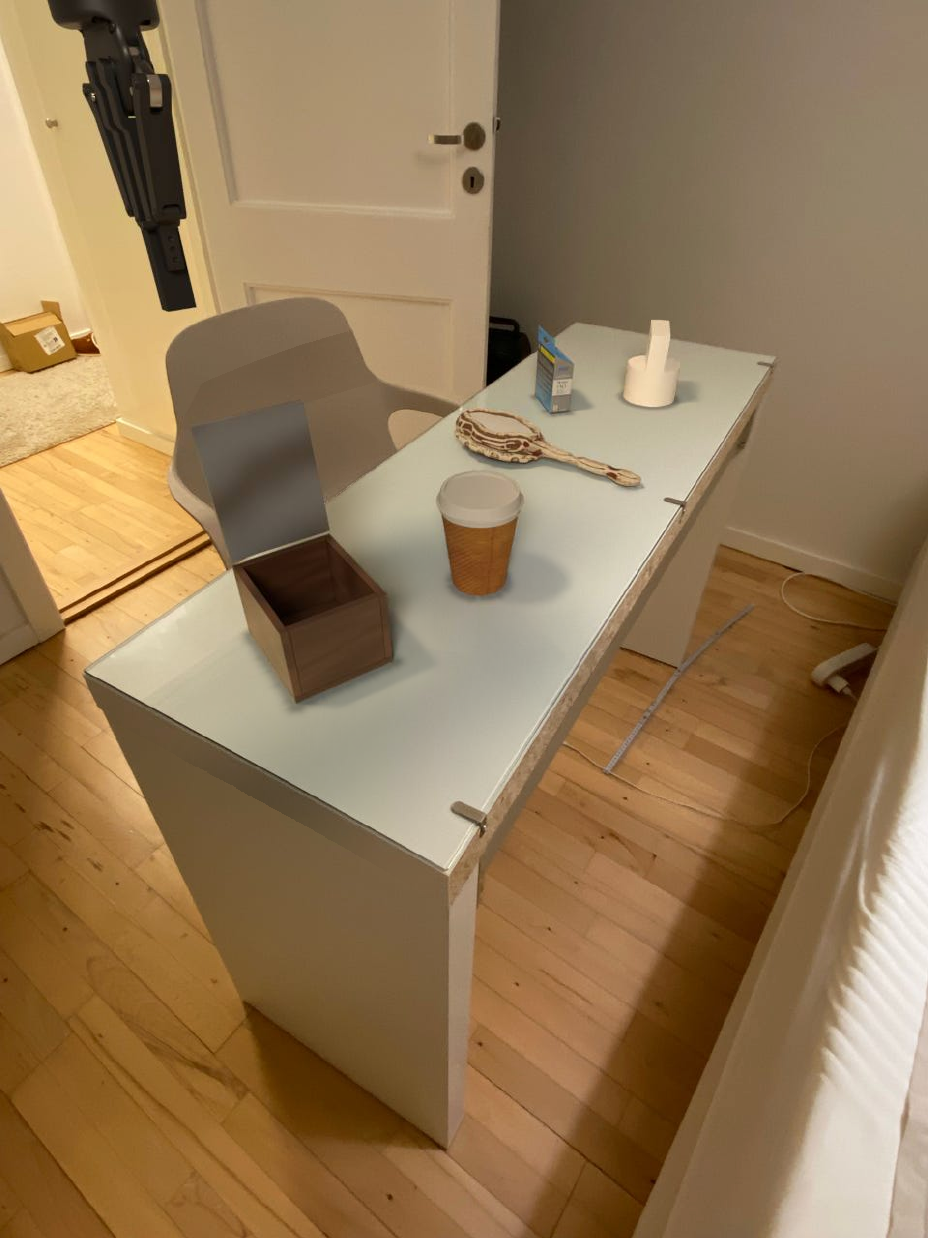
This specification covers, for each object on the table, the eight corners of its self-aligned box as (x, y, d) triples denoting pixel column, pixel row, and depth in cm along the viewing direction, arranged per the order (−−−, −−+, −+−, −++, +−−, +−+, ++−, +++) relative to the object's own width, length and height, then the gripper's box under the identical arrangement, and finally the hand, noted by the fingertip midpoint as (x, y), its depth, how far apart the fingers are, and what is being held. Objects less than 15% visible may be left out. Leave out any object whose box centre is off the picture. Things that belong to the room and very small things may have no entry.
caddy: (393, 661, 70) (386, 593, 64) (295, 704, 65) (279, 634, 59) (339, 598, 78) (329, 533, 72) (249, 632, 73) (231, 565, 67)
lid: (303, 400, 64) (300, 399, 65) (190, 427, 60) (188, 425, 60) (330, 530, 71) (327, 528, 72) (231, 562, 67) (229, 560, 67)
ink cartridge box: (570, 412, 118) (577, 338, 110) (549, 414, 117) (555, 340, 109) (553, 392, 124) (559, 322, 117) (533, 394, 124) (537, 323, 116)
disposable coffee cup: (445, 554, 84) (443, 465, 77) (522, 559, 83) (527, 471, 76) (431, 600, 77) (428, 508, 70) (515, 608, 76) (521, 515, 69)
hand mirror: (628, 490, 92) (439, 423, 101) (621, 521, 96) (441, 455, 106) (657, 445, 97) (474, 386, 107) (649, 476, 102) (475, 417, 111)
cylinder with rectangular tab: (623, 385, 127) (633, 318, 119) (673, 389, 126) (686, 321, 118) (622, 404, 120) (633, 334, 113) (674, 408, 119) (689, 337, 111)
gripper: (178, -55, 47) (249, 312, 61) (114, -25, 55) (189, 293, 69) (62, -69, 43) (167, 326, 57) (12, -35, 51) (114, 304, 65)
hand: (179, 308), depth 63 cm, fingers closed
